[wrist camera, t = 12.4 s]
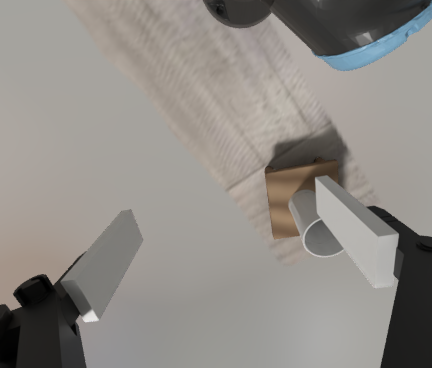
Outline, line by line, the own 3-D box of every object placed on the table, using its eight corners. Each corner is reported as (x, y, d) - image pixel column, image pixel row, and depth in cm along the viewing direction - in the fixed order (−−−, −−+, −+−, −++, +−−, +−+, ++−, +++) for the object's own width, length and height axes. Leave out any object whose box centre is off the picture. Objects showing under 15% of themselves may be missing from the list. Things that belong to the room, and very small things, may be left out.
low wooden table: (261, 165, 50) (265, 174, 45) (325, 153, 49) (338, 161, 43) (269, 224, 56) (274, 239, 51) (326, 216, 55) (338, 230, 49)
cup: (317, 180, 45) (347, 208, 34) (327, 211, 48) (358, 248, 37) (279, 194, 47) (296, 226, 35) (291, 224, 49) (310, 263, 38)
